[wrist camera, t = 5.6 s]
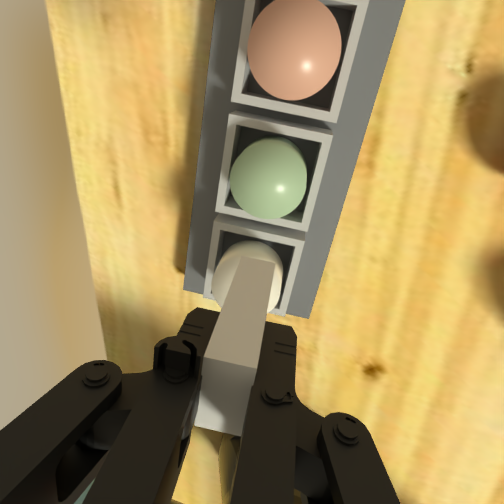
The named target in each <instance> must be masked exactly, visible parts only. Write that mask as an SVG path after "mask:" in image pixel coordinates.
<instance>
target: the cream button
mask: <svg viewBox="0 0 504 504" xmlns="http://www.w3.org/2000/svg"><path fill="white" fill-rule="evenodd" d="M241 256H244V257H249V258H254V259H259V260H264V261H269V262H273V263H276V264H275V270H274V275H273V281H272V287H271V292H270V298H269V304H268V309H267V313H269V312H270V311H271V310H272V309H273V308H274V307H275V306H276V304H277V302H278V300H279V297H280V291H281V284H282V277H283V265H282V261H281V259H280V257H279V256H278V254H277V253H276V252H275V251H274V250H273V249H272V248H271V247H270V246H268V245H266V244H264V243H262V242H258V241H253V240H246V241H240V242H237V243H235V244H233V245H232V246H230V247H229V248H228V249H227V250H226V251H225V253H224V254H223V256H222V258H221V260H220V262H219V265H218V267H217V269H216V271H215V273H214V275H213V278H212V282H211V289H212V294H213V296H214V298H215V300H216V302H217V303H218V305H219V306H220V307H221V308H222V306H223V304H224V301H225V298H226V296H227V293H228V290H229V288H230V285H231V282H232V280H233V277H234V274H235V272H236V269H237V267H238V264H239V261H240V259H241Z"/></svg>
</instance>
